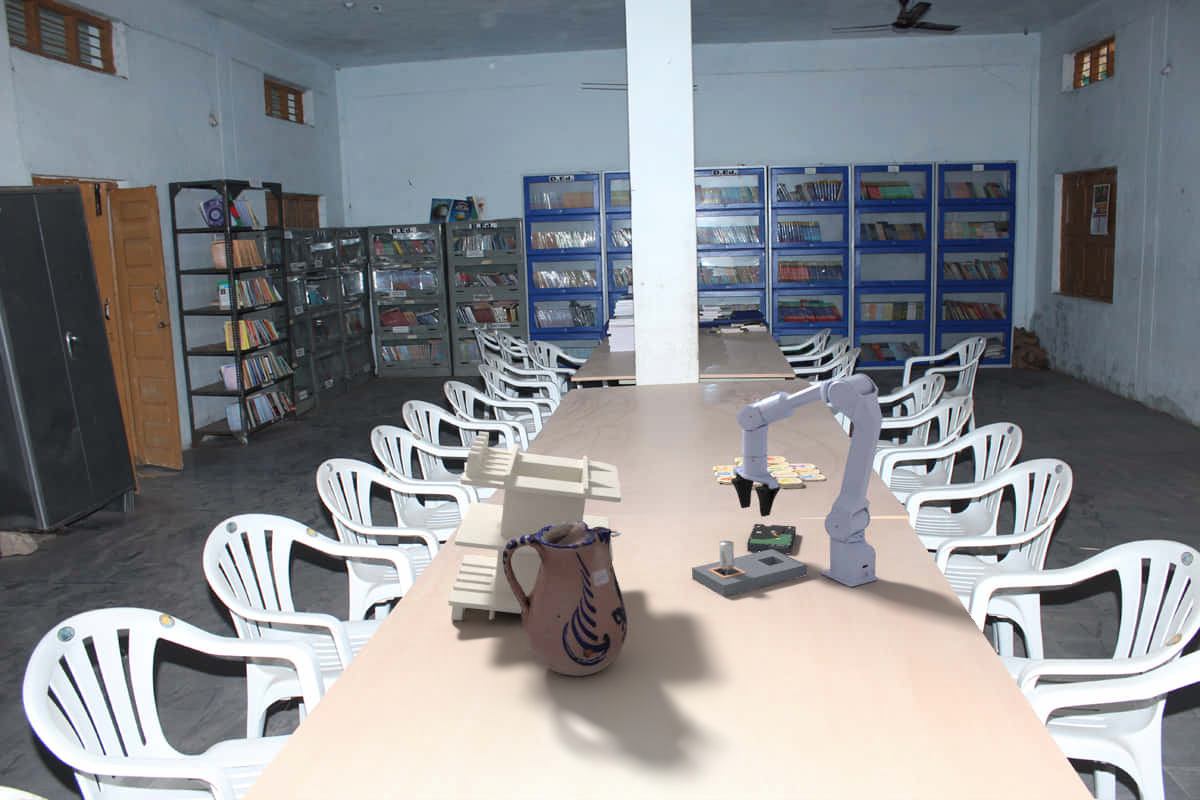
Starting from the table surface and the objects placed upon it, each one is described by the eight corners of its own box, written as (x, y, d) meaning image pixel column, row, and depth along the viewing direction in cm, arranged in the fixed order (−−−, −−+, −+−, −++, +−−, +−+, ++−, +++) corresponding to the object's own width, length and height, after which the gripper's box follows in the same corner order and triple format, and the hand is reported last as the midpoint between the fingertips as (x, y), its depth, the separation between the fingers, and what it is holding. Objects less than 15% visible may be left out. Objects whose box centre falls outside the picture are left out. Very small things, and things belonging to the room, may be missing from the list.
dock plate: (806, 575, 199) (806, 563, 199) (723, 596, 189) (723, 584, 189) (772, 559, 210) (772, 548, 209) (692, 578, 200) (692, 567, 199)
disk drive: (754, 534, 229) (747, 553, 215) (754, 523, 229) (746, 542, 215) (795, 536, 227) (791, 556, 212) (796, 525, 226) (791, 544, 212)
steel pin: (737, 582, 197) (736, 542, 195) (727, 586, 195) (727, 546, 193) (726, 578, 199) (726, 539, 197) (717, 582, 197) (716, 543, 195)
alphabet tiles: (832, 488, 266) (832, 480, 265) (720, 492, 266) (720, 484, 266) (808, 461, 298) (808, 453, 298) (709, 464, 299) (709, 457, 299)
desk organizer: (462, 577, 205) (478, 427, 199) (599, 592, 206) (618, 443, 200) (445, 627, 179) (462, 456, 173) (601, 644, 180) (624, 474, 174)
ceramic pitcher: (641, 678, 156) (637, 539, 151) (521, 700, 150) (513, 556, 146) (611, 637, 172) (606, 510, 168) (501, 655, 167) (493, 524, 162)
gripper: (788, 458, 205) (788, 516, 207) (749, 446, 217) (750, 501, 220) (763, 463, 202) (763, 521, 204) (725, 450, 214) (726, 505, 217)
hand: (755, 511), depth 212 cm, fingers open, 7 cm apart
